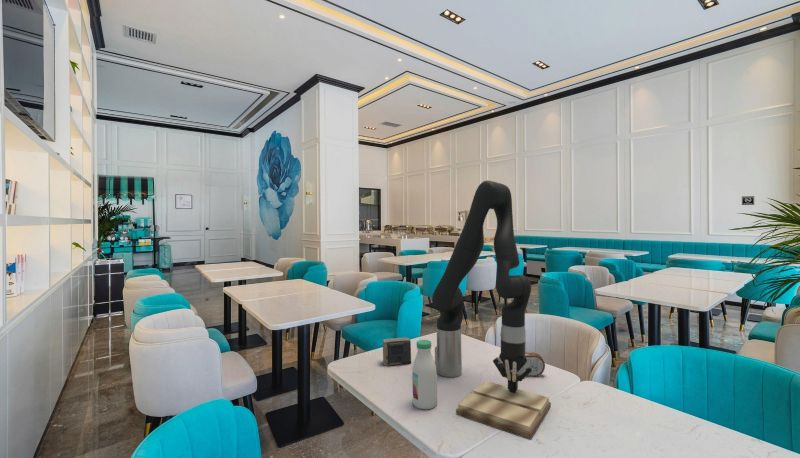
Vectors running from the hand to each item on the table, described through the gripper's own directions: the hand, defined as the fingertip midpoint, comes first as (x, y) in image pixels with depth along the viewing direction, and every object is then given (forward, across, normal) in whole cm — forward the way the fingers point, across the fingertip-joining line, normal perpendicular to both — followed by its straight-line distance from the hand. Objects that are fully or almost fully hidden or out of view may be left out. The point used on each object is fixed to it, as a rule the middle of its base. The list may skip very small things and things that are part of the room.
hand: (512, 391), depth 116 cm
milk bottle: (+4, +22, +18) cm, 28 cm away
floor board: (+3, 0, +8) cm, 8 cm away
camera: (+5, +49, -3) cm, 49 cm away
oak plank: (+2, 0, +2) cm, 3 cm away
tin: (+4, +3, -20) cm, 21 cm away
